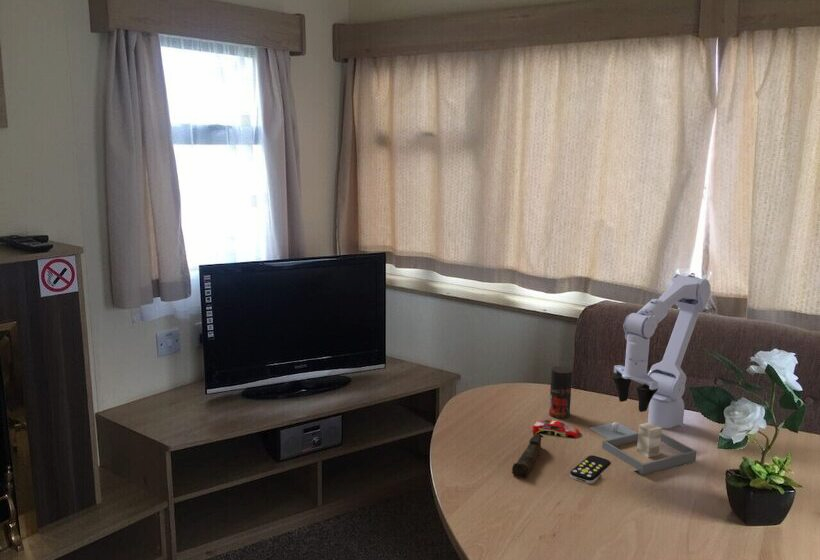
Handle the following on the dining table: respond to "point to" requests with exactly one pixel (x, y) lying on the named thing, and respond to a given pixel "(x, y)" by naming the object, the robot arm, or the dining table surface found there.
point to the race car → (555, 429)
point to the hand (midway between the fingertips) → (632, 405)
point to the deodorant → (560, 392)
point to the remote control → (589, 469)
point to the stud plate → (612, 430)
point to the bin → (653, 466)
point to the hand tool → (527, 457)
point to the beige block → (649, 439)
